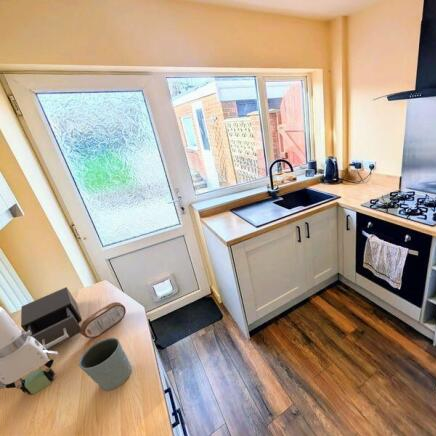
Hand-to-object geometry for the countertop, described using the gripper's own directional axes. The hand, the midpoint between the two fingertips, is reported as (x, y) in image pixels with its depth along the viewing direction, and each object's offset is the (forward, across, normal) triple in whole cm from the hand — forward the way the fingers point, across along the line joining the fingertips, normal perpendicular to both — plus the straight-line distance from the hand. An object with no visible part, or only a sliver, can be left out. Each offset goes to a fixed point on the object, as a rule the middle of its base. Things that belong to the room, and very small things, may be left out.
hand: (41, 383), depth 78 cm
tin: (+1, -20, -10) cm, 23 cm away
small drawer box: (0, -6, -32) cm, 32 cm away
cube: (0, 0, 0) cm, 0 cm away
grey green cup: (+1, -17, +17) cm, 24 cm away
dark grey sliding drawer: (-1, -6, -19) cm, 20 cm away
